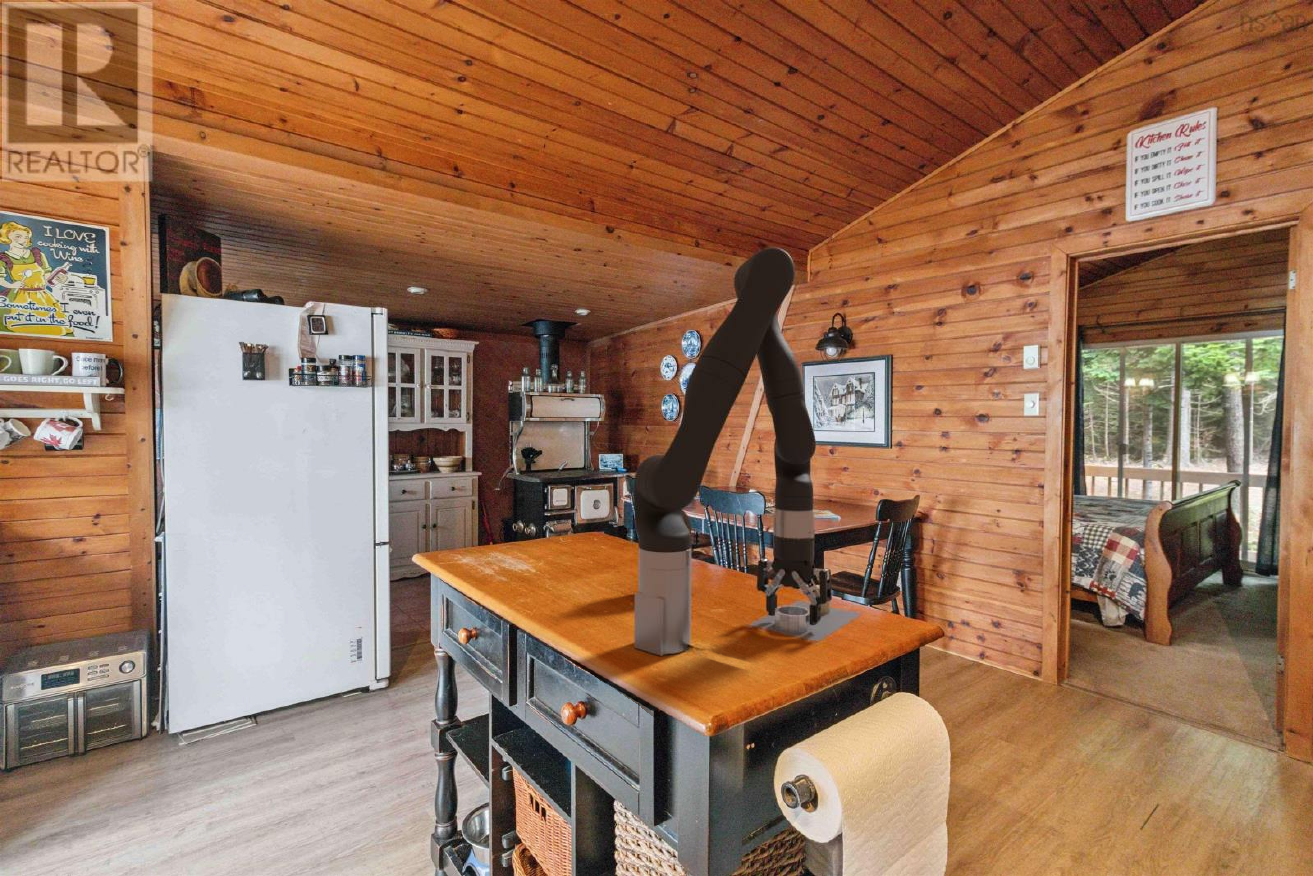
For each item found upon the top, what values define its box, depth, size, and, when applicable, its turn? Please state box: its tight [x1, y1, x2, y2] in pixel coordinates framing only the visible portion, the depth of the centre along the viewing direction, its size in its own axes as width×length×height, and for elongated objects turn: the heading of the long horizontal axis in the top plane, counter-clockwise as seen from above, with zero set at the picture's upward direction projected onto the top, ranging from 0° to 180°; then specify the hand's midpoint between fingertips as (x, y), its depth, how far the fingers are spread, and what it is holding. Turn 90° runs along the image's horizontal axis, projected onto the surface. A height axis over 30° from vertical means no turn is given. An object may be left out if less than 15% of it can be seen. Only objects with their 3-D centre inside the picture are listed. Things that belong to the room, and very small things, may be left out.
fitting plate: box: [747, 584, 863, 643], centre depth 118 cm, size 21×14×6 cm, turn 140°
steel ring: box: [775, 604, 811, 633], centre depth 113 cm, size 7×7×3 cm
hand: (792, 619), depth 113 cm, fingers open, 8 cm apart
